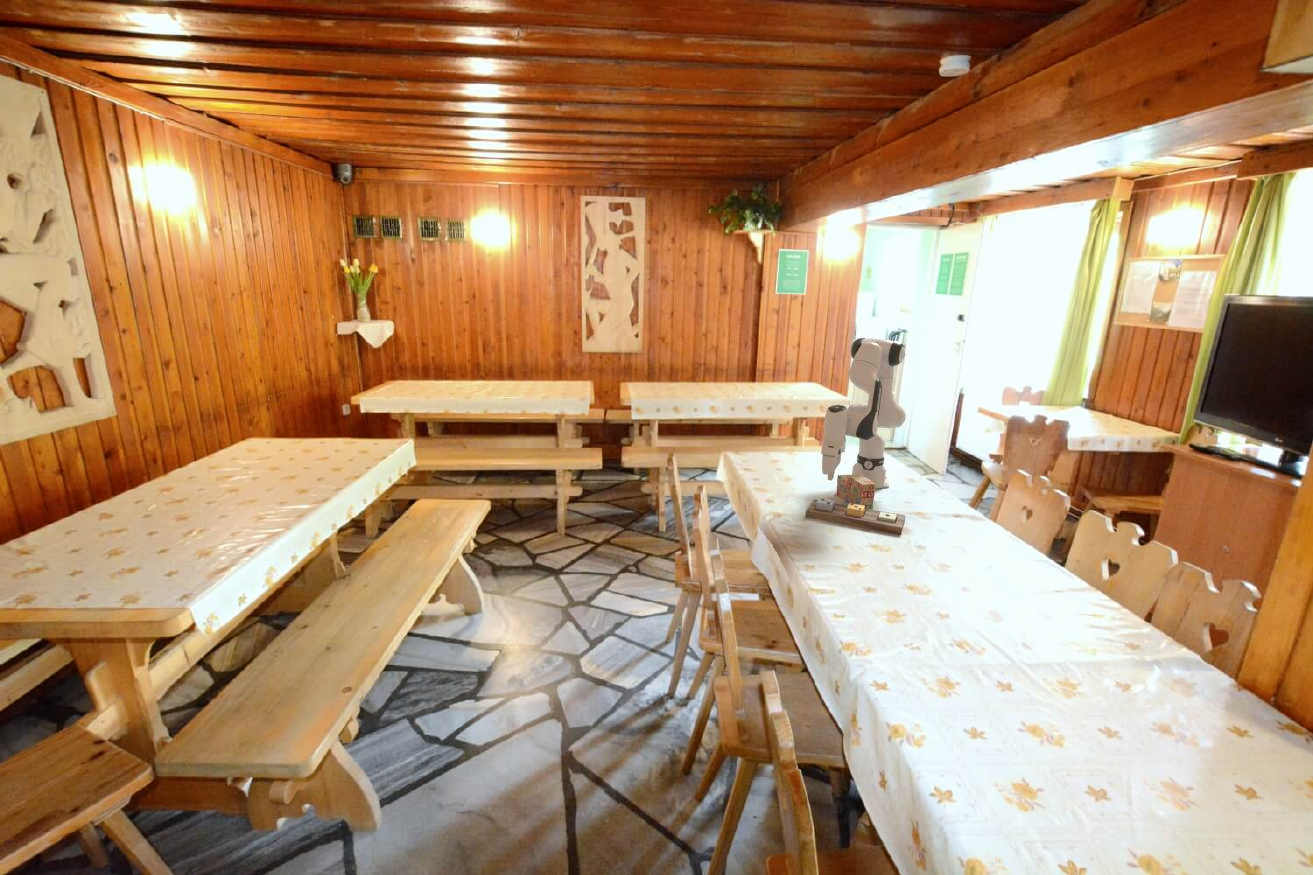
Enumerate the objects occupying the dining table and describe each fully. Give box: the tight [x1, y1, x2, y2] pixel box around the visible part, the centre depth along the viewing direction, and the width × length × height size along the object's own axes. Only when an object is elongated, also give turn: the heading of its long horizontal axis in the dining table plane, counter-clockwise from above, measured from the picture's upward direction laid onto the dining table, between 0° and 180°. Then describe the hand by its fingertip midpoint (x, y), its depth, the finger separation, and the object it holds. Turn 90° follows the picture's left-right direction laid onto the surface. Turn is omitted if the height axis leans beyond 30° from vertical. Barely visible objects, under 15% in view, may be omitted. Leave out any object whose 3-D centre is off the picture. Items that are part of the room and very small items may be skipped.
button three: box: [846, 503, 865, 517], centre depth 232 cm, size 6×6×4 cm
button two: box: [816, 497, 835, 512], centre depth 238 cm, size 6×6×4 cm
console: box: [805, 499, 906, 535], centre depth 233 cm, size 14×36×3 cm, turn 62°
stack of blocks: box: [835, 474, 876, 510], centre depth 251 cm, size 21×6×12 cm, turn 9°
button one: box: [878, 511, 898, 523], centre depth 227 cm, size 6×6×4 cm
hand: (830, 479), depth 234 cm, fingers closed
